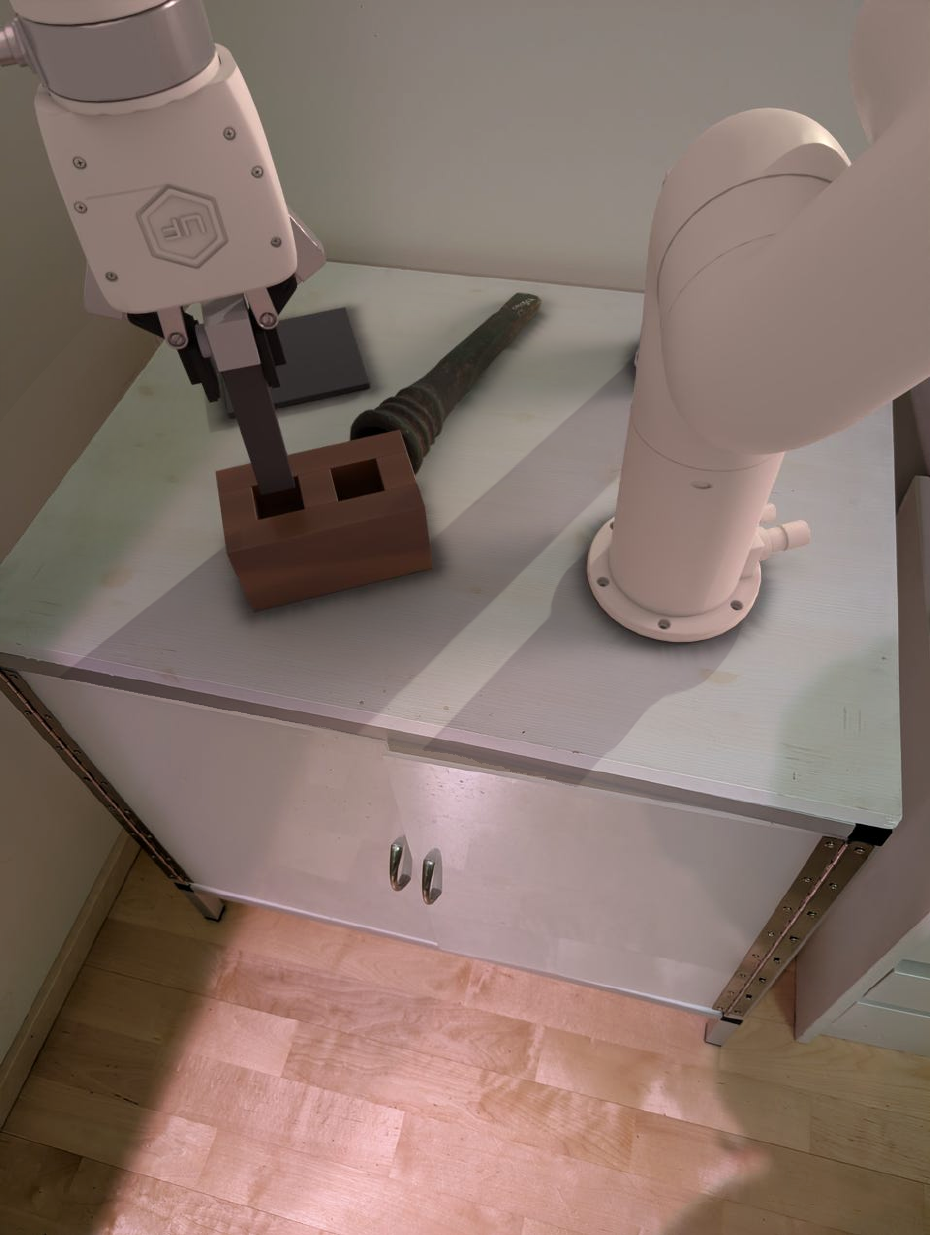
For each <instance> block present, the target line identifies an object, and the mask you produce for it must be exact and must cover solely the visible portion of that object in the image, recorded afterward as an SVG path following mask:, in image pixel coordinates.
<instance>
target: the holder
mask: <svg viewBox="0 0 930 1235" xmlns="http://www.w3.org/2000/svg"><path fill="white" fill-rule="evenodd" d="M287 456H288V459H289V463H290V467H291V470H292V475H293V479H294V484H295V488H292V489H288V490H283V491H278V492H273V493H269V494H264V495H261V493H260V490H259V487H258V484H257V481H256V478H255V475H254V471H253V468H252V465H251V462H250V463H249V462H248V463H245V464H241V465H237V466H232V467H231V466H230V467H227V468H223V469H218V470H215V478H216V479H215V480H216V486H217V487H216V488H217V493H218V494H217V495H218V501H219V509H220V516H221V524H222V528H223V529H222V531H223V537H224V538H223V539H224V545H225V553H226V556H227V558H228V560H229V562H230V564H231V567H232V569H233V571H234V573H235V576H236V578H237V580H238V582H239V584H240V586H241V589H242V591H243V593H244V595H245V598H246V600H247V603H248V604H249V607H250V609H251V611H252V612H253V613H254V612H258V611H262V610H266V609H271V608H274V607H278V606H283V605H287V604H291V603H295V602H299V601H303V600H308V599H311V598H317V597H320V596H323V595H328V594H332V593H336V592H340V591H344V590H348V589H353V588H356V587H361V586H365V585H369V584H373V583H377V582H381V581H385V580H390V579H393V578H398V577H402V576H406V575H410V574H415V573H418V572H422V571H427V570H431V569H433V568H434V563H433V556H432V549H431V548H432V547H431V541H430V532H429V527H428V518H427V512H426V505H425V502H424V499H423V496H422V493H421V490H420V487H419V484H418V481H417V478H416V475H414V472H413V468H412V465H411V462H410V459H409V456H408V453H407V450H406V447H405V444H404V441H403V438H402V435H401V432H400V430H396V431H392V432H388V433H383V434H379V435H374V436H370V437H365V438H361V439H356V440H352V441H350V440H348V441H344V442H339V443H335V444H331V445H326V446H321V447H317V448H312V449H309V450H303V451H299V452H294V453H290V454H287Z"/></svg>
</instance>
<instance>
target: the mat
mask: <svg viewBox="0 0 930 1235" xmlns="http://www.w3.org/2000/svg"><path fill="white" fill-rule="evenodd" d="M277 329H278V332H279V336H280V339H281V342H282V346H283V349H284V353H285V357H286V362H287V364H284V365H280V366H277V371H278V375H279V380H280V384H281V387H278V388H272V386H271V387H269V389H270V393H271V397H272V400H273V404H274V408H275V409H278V408H279V409H280V408H282V407H288V406H293V405H297V404H301V403H307V402H310V401H315V400H319V399H324V398H328V397H334V396H339V395H342V394H348V393H352V392H357V391H361V390H365V389H370V388H371V384H370V380H369V377H368V374H367V371H366V368H365V364H364V360H363V358H362V355H361V352H360V348H359V345H358V342H357V340H356V336H355V333H354V329H353V325H352V323H351V320H350V316H349V314H348V309H347V307H346V306H344V307H343V306H342V307H338V308H334V309H328V310H325V311H319V312H314V313H309V314H304V315H299V316H296V317H290V318H285V319H279V322H278V324H277ZM220 374H221V380H222V388H223V393H224V401H225V405H226V406H225V407H226V412H227V417H228V418H229V419H233V418H236V416H235V413H234V410H233V406H232V403H231V400H230V397H229V394H228V391H227V388H226V385H225V382H224V379H223V375H222V372H220Z"/></svg>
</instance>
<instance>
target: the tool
mask: <svg viewBox="0 0 930 1235" xmlns="http://www.w3.org/2000/svg"><path fill="white" fill-rule="evenodd" d="M541 305H542V299H541V298H540V297H539V296H538V295H536V294H532V293H527V292H516V293H515V294H514V295H512V296H511V297H510V298H509V299H508V300H507V301H506V302H505V303H504V304H503V305H502V306H501V307H500V309H499V310H498V311H496V312H494V313H493V314H492V315H491V316H489V317H487V319H486V320H485V321H484V322H483V323H481V325H479V326H478V327H477V328H476V329H475V330H473V331H472V332H471V333H470V334H468V335H467V337H465V338H464V339H463V340H462V341H460V343H458V344H457V345H456V346H455V347H454V348H452V349H451V350H450V351H449V352H448V353H447V354H445V355H444V356H443V357H442V358H441V359H440V360H439V361H438V362H437V363H436V365H434V366H433V367H432V369H430V370H429V371H428V372H427V373H426V374H425V375H423V376H422V377H421V378H420V379H418V380H417V381H415V382H413V383H412V384H410V385H408V386H406V387H403V388H401V389H400V390H398V392H397V393H396V394H395V395H394V396H389V397H387V398H385V399H384V400H383V401H381V403H379V405H378V406H376V407H375V408H373V409H372V408H369V409H366V410H364V411H362V412H361V413H359V415H358V416H357V417H355V419H354V420H353V421H352V424H351V426H350V430H349V431H350V432H349V441H352V440H356V439H361V438H365V437H370V436H374V435H379V434H383V433H388V432H392V431H396V430H400V432H401V435H402V438H403V441H404V444H405V447H406V450H407V453H408V456H409V459H410V462H411V465H412V468H413V472H414V475H415V476H417V475H418V473H419V471H420V469H421V467H422V465H423V462H424V458H425V457H427V456H428V454H429V453H430V451H431V446H433V445H434V444H435V442H436V438H437V437H439V436H440V434H441V432H442V431H443V426H444V423H445V422H446V420H447V419H448V417H449V416H450V414H451V413H452V412H453V410H455V408H456V406H457V405H458V404H459V403H460V401H462V399H463V398H464V397H465V396H466V395H467V394H468V393H469V392H470V391H471V390H472V388H473V387H474V386H475V384H476V383H478V382H477V381H478V380H479V379H480V378H481V376H482V375H483V374H484V372H485V371H486V370H487V369H488V368H489V366H490V365H491V364H492V363H493V361H494V360H495V359H496V358H497V356H499V354H500V353H501V352H502V351H503V350H504V349H505V348H506V347H507V346H508V345H509V344H510V343H511V341H513V339H514V338H516V336H518V334H519V333H520V332H521V331H522V329H523V328H525V326H526V325H527V324H528V323H529V322H530V321H531V320H532V318H533V317H534V315H536V313H537V312H538V311H539V309H540V307H541Z"/></svg>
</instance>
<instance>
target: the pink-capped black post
mask: <svg viewBox="0 0 930 1235" xmlns="http://www.w3.org/2000/svg"><path fill="white" fill-rule="evenodd" d="M200 307H201V315H202V321H203V323H199V324H197V325H195V331H196V336H197V340H198V344H199V347H200V350H201V353H202V355H203V357H204V358H207V357H212V358H214V359H213V360H214V361H215V362H214V363H215V366H216V369H217V372H220V373H221V372H222V375H223V379H224V382H225V385H226V388H227V391H228V394H229V397H230V400H231V403H232V406H233V410H234V413H235V416H236V417H235V419H236V422H237V425H238V428H239V431H240V435H241V438H242V440H243V443H244V446H245V450H246V452H247V456H248V459H249V462H250V463H251V465H252V468H253V471H254V475H255V478H256V481H257V484H258V487H259V490H260V493H261V495H264V494H269V493H273V492H278V491H283V490H288V489H292V488H295V484H294V479H293V475H292V470H291V467H290V463H289V459H288V456H287V455H288V452H287V449H286V448H287V447H286V444H285V441H284V438H283V434H282V430H281V426H280V423H279V419H278V416H277V415H278V414H277V411H276V408H274V404H273V400H272V397H271V393H270V389H269V386H268V383H267V380H266V377H265V374H264V371H263V368H262V365H261V362H260V358H259V354H258V350H257V347H256V343H255V339H254V335H253V331H252V326H251V321H250V316H249V311H248V308H249V305H248V300H247V298H246V296H245V293H241V294H237V295H232V296H228V297H223V298H218V299H214V300H209V301H204V302H200ZM222 375H221V376H222Z"/></svg>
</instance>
